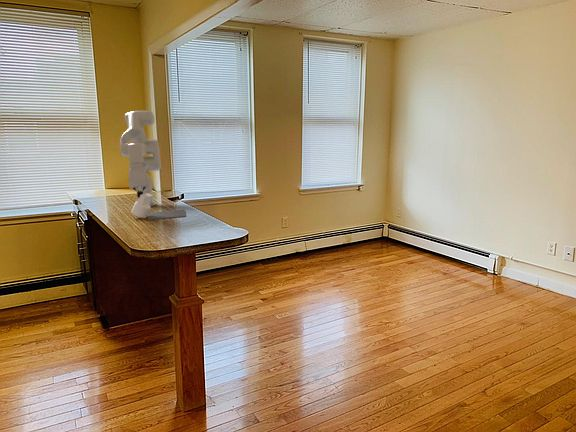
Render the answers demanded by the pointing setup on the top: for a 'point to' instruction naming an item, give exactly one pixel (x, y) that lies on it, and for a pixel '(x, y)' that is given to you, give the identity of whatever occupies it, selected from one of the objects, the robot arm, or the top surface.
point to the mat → (166, 214)
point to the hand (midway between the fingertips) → (140, 198)
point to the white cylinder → (142, 205)
